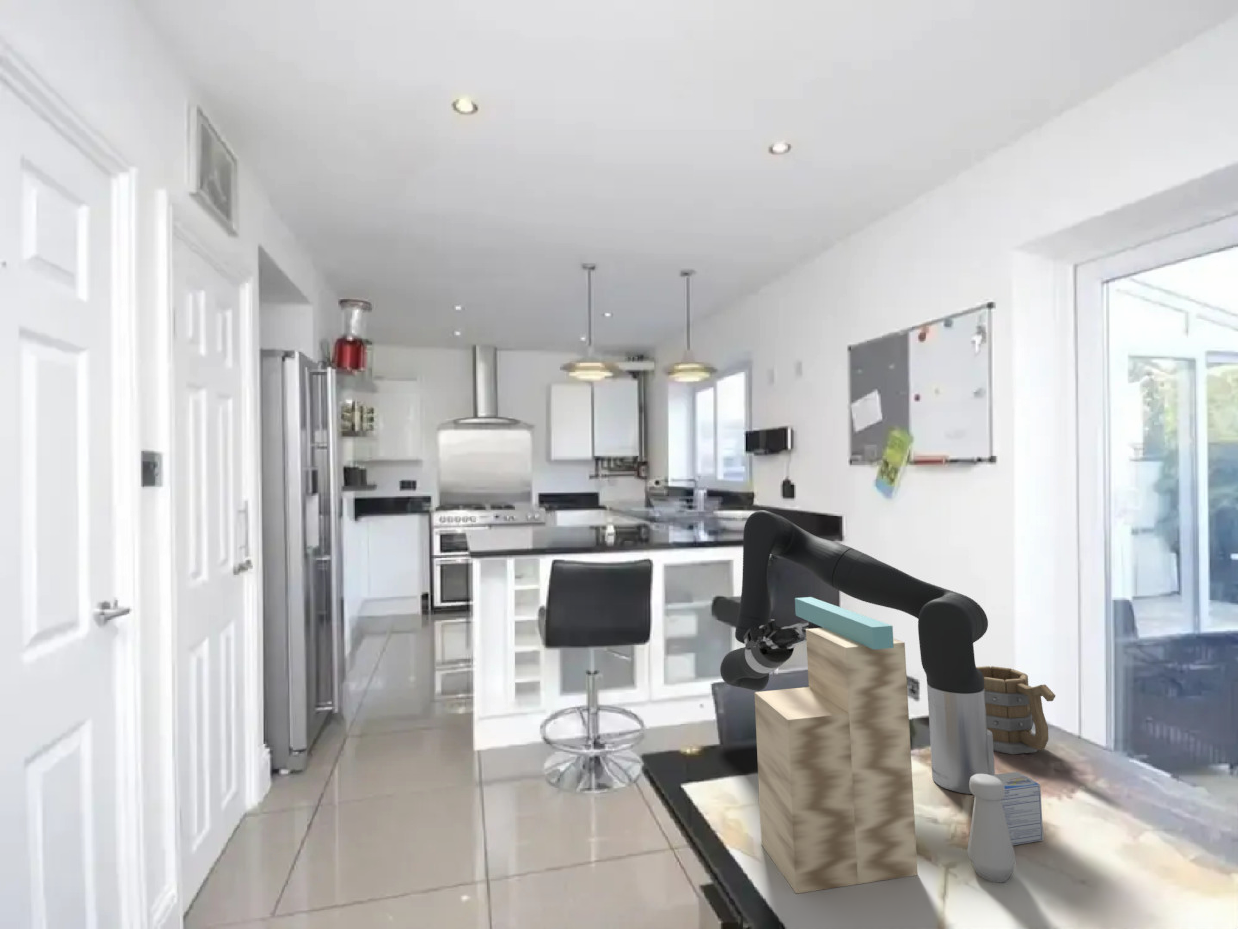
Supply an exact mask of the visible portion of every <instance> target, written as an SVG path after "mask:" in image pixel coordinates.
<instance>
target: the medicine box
mask: <svg viewBox="0 0 1238 929" xmlns="http://www.w3.org/2000/svg"><path fill="white" fill-rule="evenodd" d="M991 776H994V777H996V778H998V779H999V780H1000V781H1001V782H1002V783H1003V784H1004V787H1005V796H1004V799H1002V800H1001V803H1002V807H1003V811H1004V815H1005V818H1006V822H1007V826H1008V830H1009V834H1010V838H1011V842H1012V846H1017V845H1023V844H1024V845H1025V844H1030V843H1035V842H1041V841H1044V828H1043V827H1044V826H1043V825H1044V824H1043V811H1042V810H1043V809H1042V791H1041V790H1042V789H1041V784H1040V783H1038V782H1037V781H1036V780H1033V779H1032V778H1031V777H1028V776H1027V775H1025V774H1023V773H1021V772H1019V771H1013V772H1005V773H995V775H991Z"/></svg>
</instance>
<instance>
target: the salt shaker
mask: <svg viewBox="0 0 1238 929" xmlns="http://www.w3.org/2000/svg"><path fill="white" fill-rule="evenodd" d="M969 788H970V791H971V793H972V794H971V795H973V796H974V802H973V809H972V816H971V824H970V829H969V835H968V836H969V837H968V843H967V850H966V852H967V855H968V858H969V859H970V862H971V863H972V864H971V865H973V868H974V869H975V873H976V874H977V875H978V876H980V877H982V878H983V879H985V880H988V881H989V882H995V883H997V882H998V883H1006V882H1007V881H1008V879H1009V878H1010V877H1011V876H1012V875H1011V874H1012V873H1013V871H1014V870H1015V868H1016V862H1017V858H1016V855H1015V851H1014V845H1012V842H1011V838H1010V834H1009V830H1008V826H1007V822H1006V818H1005V815H1004V811H1003V807H1002V803H1001V800H1002V799H1004V796H1005V787H1004V784H1003V783H1002V782H1001V781H1000V780H999V779H998V778H996V777H994V776H991V775H988V774H975V775H973V776H971V778H970V781H969Z"/></svg>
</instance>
